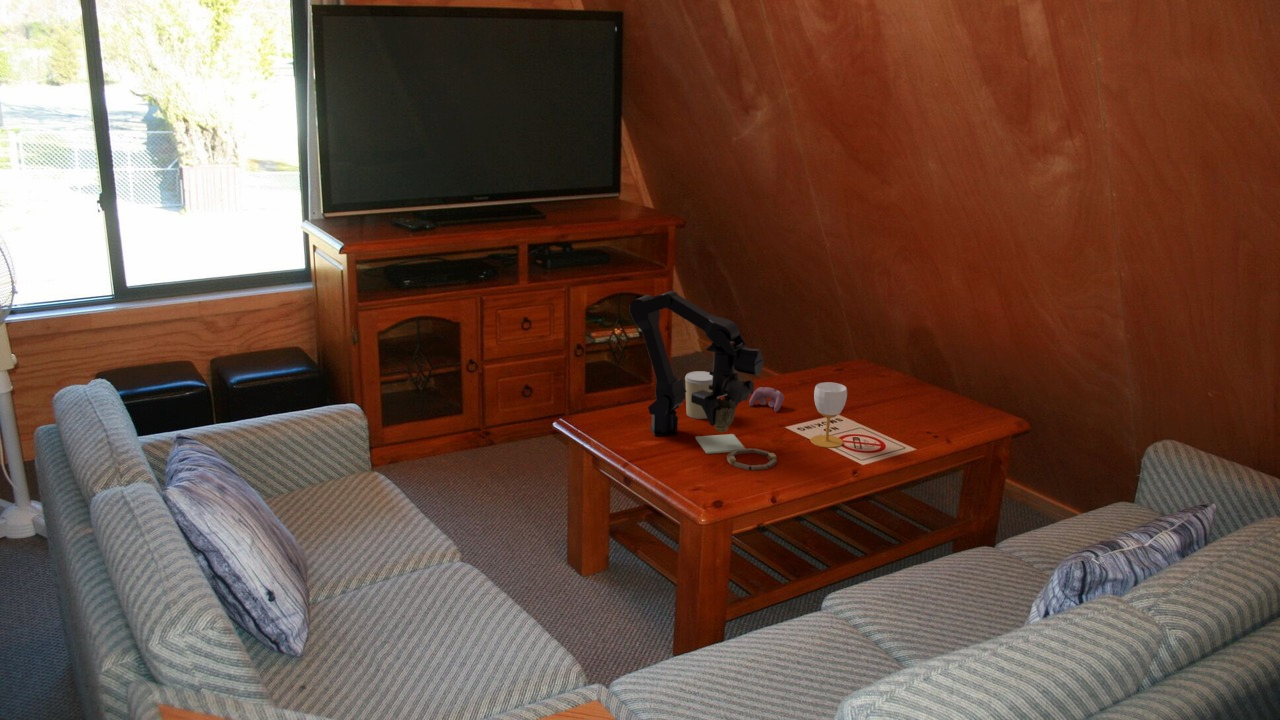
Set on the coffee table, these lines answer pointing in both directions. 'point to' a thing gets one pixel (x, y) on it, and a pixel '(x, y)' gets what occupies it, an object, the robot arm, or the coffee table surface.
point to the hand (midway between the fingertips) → (720, 422)
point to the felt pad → (719, 443)
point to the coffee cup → (694, 384)
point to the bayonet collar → (770, 456)
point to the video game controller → (767, 392)
